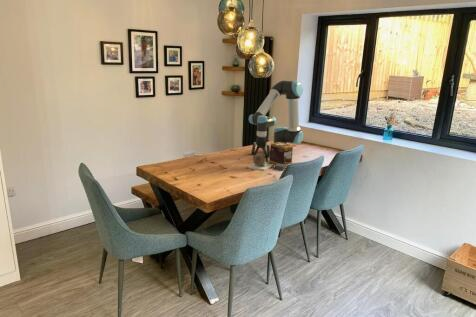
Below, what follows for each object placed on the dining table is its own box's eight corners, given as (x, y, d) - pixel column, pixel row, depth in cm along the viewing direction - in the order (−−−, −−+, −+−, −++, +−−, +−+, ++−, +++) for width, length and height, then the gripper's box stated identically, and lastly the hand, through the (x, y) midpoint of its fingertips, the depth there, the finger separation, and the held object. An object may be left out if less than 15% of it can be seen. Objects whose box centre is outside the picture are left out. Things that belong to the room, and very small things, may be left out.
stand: (277, 166, 284) (278, 163, 283) (286, 168, 281) (286, 164, 280) (274, 169, 278) (274, 165, 277) (282, 170, 275) (283, 166, 274)
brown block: (257, 161, 287) (258, 153, 285) (267, 162, 283) (267, 155, 282) (253, 163, 280) (253, 155, 278) (262, 165, 276) (263, 157, 275)
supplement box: (283, 166, 286) (284, 147, 282) (269, 161, 297) (270, 143, 293) (291, 164, 292) (293, 145, 288) (278, 159, 304) (279, 141, 300)
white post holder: (256, 163, 292) (256, 152, 289) (272, 166, 285) (272, 154, 283) (248, 167, 280) (248, 156, 277) (264, 170, 273) (265, 159, 271)
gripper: (247, 135, 278) (246, 163, 284) (272, 138, 268) (270, 168, 274) (251, 133, 284) (250, 161, 290) (276, 137, 274) (274, 165, 280)
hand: (260, 164), depth 282 cm, fingers closed on brown block, 8 cm apart
